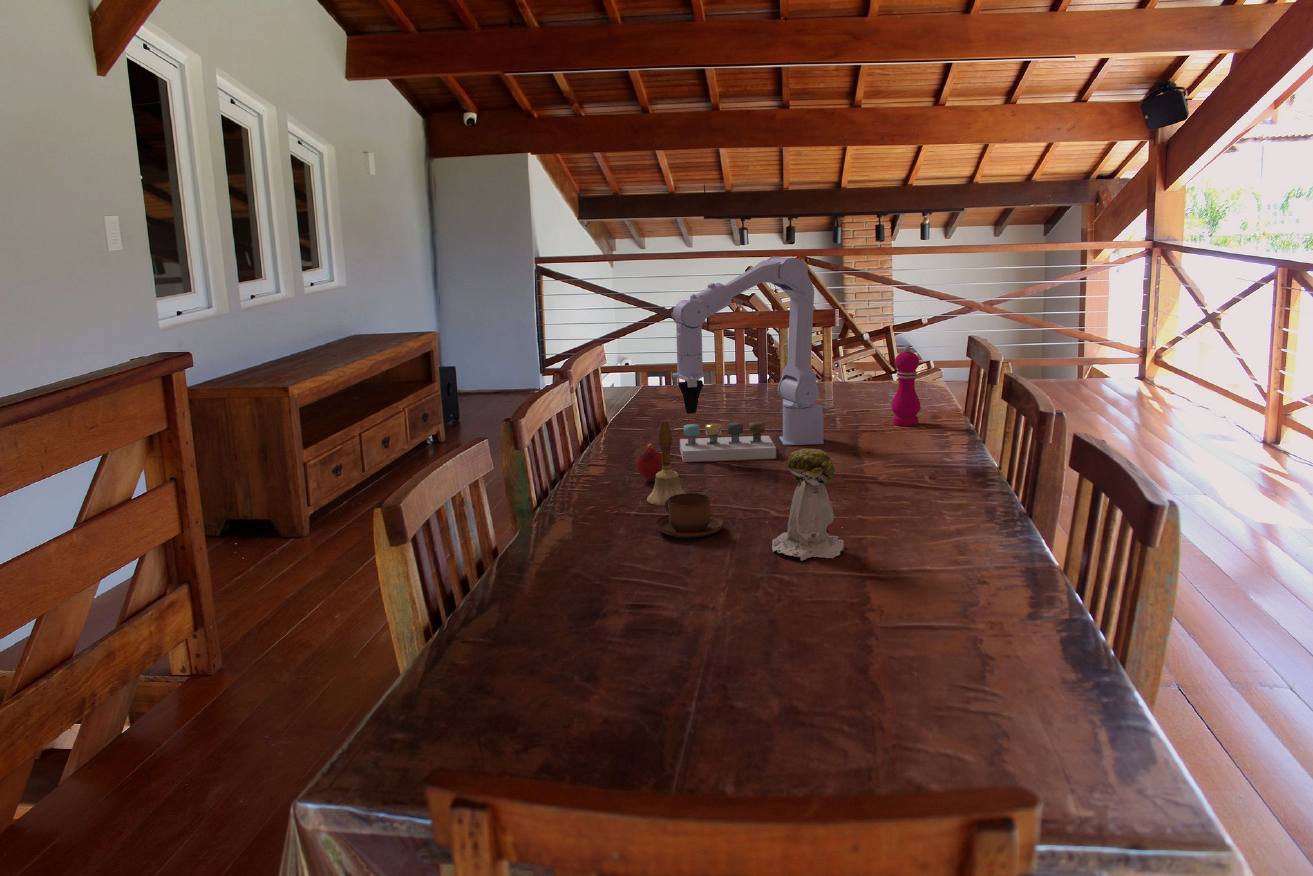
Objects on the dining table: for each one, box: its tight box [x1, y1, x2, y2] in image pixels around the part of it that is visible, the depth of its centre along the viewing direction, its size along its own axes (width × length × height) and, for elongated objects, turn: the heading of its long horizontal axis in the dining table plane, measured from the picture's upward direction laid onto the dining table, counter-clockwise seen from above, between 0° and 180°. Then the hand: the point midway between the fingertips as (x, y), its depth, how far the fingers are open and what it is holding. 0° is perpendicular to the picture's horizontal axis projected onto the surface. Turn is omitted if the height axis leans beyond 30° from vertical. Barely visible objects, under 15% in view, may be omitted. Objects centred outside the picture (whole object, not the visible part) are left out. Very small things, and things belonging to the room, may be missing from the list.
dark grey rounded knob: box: [726, 422, 744, 443], centre depth 230 cm, size 4×4×4 cm
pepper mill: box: [890, 345, 921, 427], centre depth 253 cm, size 7×7×20 cm
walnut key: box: [748, 421, 766, 442], centre depth 230 cm, size 4×4×4 cm
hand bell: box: [646, 419, 686, 507], centre depth 195 cm, size 8×8×16 cm
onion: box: [636, 443, 663, 482], centre depth 210 cm, size 6×6×8 cm
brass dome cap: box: [704, 422, 722, 444], centre depth 230 cm, size 4×4×4 cm
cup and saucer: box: [655, 492, 725, 539], centre depth 177 cm, size 12×12×6 cm
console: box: [679, 435, 777, 463], centre depth 231 cm, size 21×12×2 cm, turn 92°
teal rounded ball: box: [683, 423, 700, 445], centre depth 230 cm, size 4×4×4 cm
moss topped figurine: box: [771, 448, 845, 561], centre depth 165 cm, size 11×12×17 cm
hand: (691, 413), depth 229 cm, fingers closed
